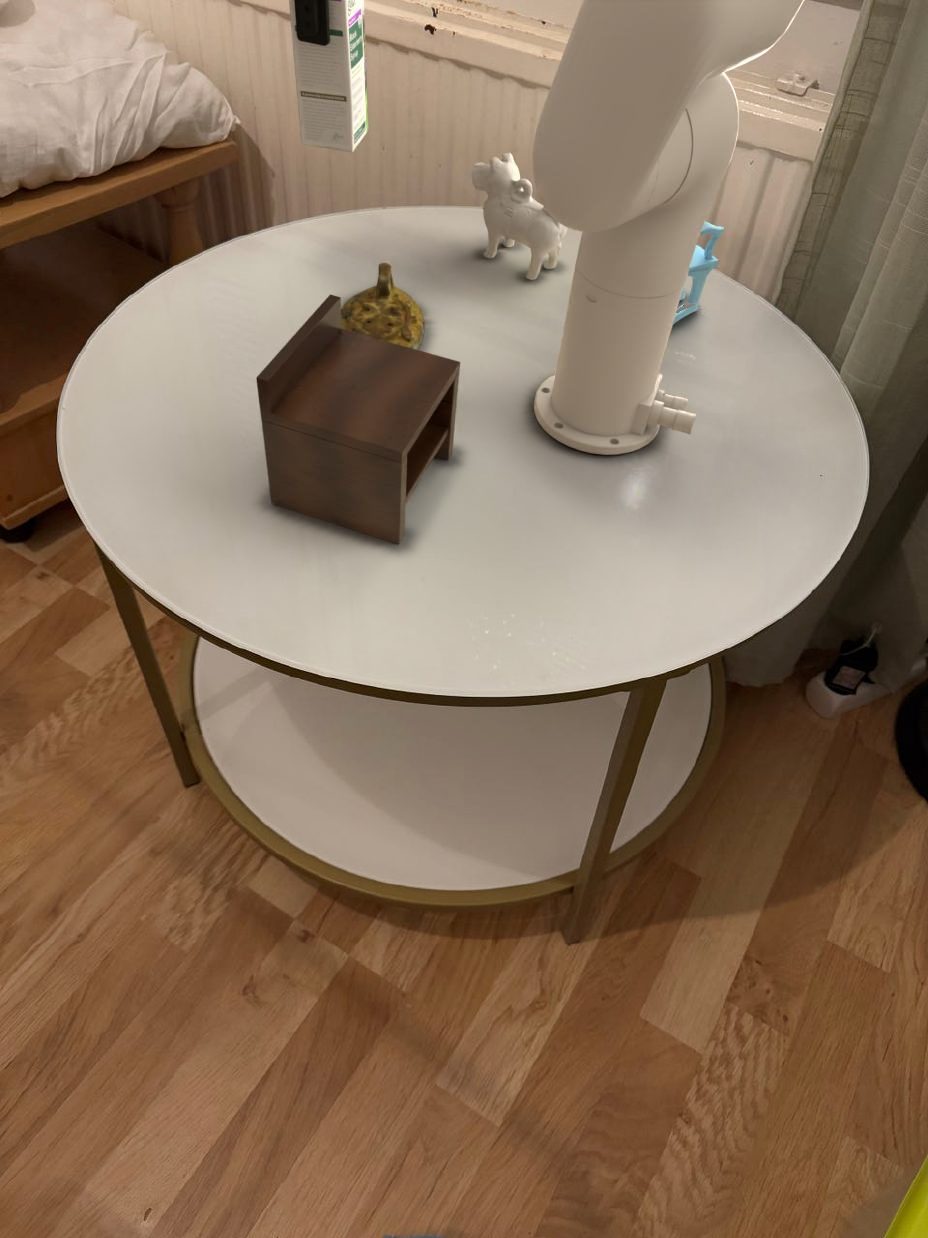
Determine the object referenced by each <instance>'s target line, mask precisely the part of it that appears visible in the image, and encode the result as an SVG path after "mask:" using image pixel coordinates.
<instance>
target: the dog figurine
mask: <svg viewBox="0 0 928 1238" xmlns="http://www.w3.org/2000/svg"><path fill="white" fill-rule="evenodd" d="M471 181H472V185H473V187H474V188H475V189H476V190H478V191H480V192H481V191H482V192H486V194H487V199H486V200H485V201H484V203H483V207H482V211H483V213H482V215H483V221H484V225H485V228H486V230H487V238H488V239H487V246H486V250H485V251H484V252H483V256H484V257H485V258H487V259H493V258H495V257H496V255H497V253H498V252H499V251H498V246H499V244H500V243H501V240H502V238H503V237H504V239H503V242H502V246H504V247H506V248H511V247H514V246H515V242H517V243H519V244H521V245H524V246H526V247H527V248H528V249H530V253H531V257H530V258H531V259H530V264H529V268H528V271H527V273H526V274H525V279H527V280H529V281H534V280H536V279H537V278H538V276H539V274H540V271H541V267H542V266H543V268H544V269H546V270H553V269H555V268H556V267H557V264H558V260H559V254H560V251H561V249H562V241H563V240H564V238H565V237H566V234H567V231H568V228H567V227H565V226H563V225H562V224H560V223H559V222H558V221H556V220H555V219H554V218H553V217H552V216H551V215H550V214H549V213H548V211H547V210H546V209H545V207H544V205H543V204H542V203H540V202H538V201H537V200H535V198H533V197H532V194H533V186H532V183H531V182H530V181H529V179H527V178H521V175H520V170H519V168H518V165H517V164H516V163H515V160H514V156H513V155H512V154H511V152H505V153H503V154H501V160H500V159H499V157H497V156H492V157H491V158H489V163H484V162H482V161H478V162H476V163H474V165H473V168H472V171H471ZM547 254H548V259H547V261H546V262H545V263H544V264H543V262H544V261H545V257H546V256H547ZM542 264H543V265H542Z"/></svg>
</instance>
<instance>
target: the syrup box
mask: <svg viewBox="0 0 928 1238" xmlns="http://www.w3.org/2000/svg"><path fill="white" fill-rule="evenodd" d="M328 5H329V27H330V43H329V44H328V45H326V46H322V45H317V44H312V43H307V42H302V41H299V40H298V38H297V32H296V17H295V3H294V0H288V7H289V17H290V30H291V40H292V51H293V52H292V53H293V64H294V74H295V75H294V77H295V86H296V97H297V108H298V110H297V111H298V120H299V131H300V141H301V144H302V145H304V146H308V147H313V148H318V149H324V150H331V151H339V152H345V153H346V152H348V153H354V151H355V150H356V148H357V146H358V145H359V144H360V143H361V141H362V140H363V139H364V137H365V136H366V134H367V133H368V132H369V108H368V81H367V79H368V78H367V75H368V74H367V52H366V51H367V49H366V46H367V45H366V24H365V23H366V22H365V0H328Z"/></svg>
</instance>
